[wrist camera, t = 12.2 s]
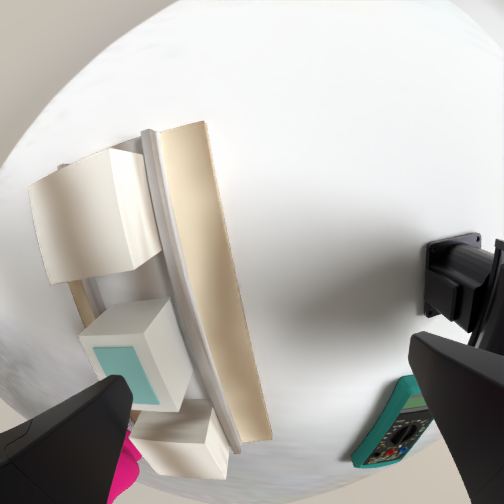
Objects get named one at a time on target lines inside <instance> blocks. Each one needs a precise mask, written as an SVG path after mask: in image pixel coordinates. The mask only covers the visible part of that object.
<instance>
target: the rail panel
mask: <svg viewBox="0 0 504 504" xmlns="http://www.w3.org/2000/svg"><path fill="white" fill-rule="evenodd" d="M28 190H29V197H30V203H31V209H32V215H33V220H34V225H35V230H36V235H37V239H38V244H39V248H40V252H41V255H42V259H43V263H44V266H45V270H46V273H47V276H48V280H49V283H50V285H51V284H57V283H63V282H68V283H69V286H70V289H71V292H72V295H73V298H74V301H75V303H76V306H77V309H78V311H79V314H80V317H81V319H82V322H83V324H84V327H85V329H86V328H87V327H88V326H89V325H90V324H91V323H92V322H93V321H94V320H96V319H97V318H98V317H99V316H100V315H101V314H102V313H103V312H104V311H106V310H107V309H108V308H109V307H110V306H111V305H112V304H118V303H127V302H135V301H144V300H152V299H160V298H167V297H171V299H172V302H173V305H174V309H175V312H176V315H177V318H178V321H179V324H180V328H181V331H182V334H183V337H184V340H185V342H186V345H187V348H188V351H189V354H190V357H191V360H192V362H193V365H194V369H193V372H192V375H191V378H190V381H189V384H188V387H187V389H186V392H185V395H184V398H183V401H182V404H181V407H180V410H179V412H159V411H142V410H131V413H130V416H131V417H132V419H133V420H134V422H135V425H134V427H133V429H132V431H131V433H130V435H129V437H128V438H129V439H130V440H131V442H132V443H133V444H134V446H135V447H136V448H137V449H138V451H139V452H140V453H141V455H142V456H143V457H144V458H145V459H146V461H147V462H148V463H149V464H150V465H151V467H152V468H153V469H154V470H155V471H156V472H157V473H158V474H160V475H167V476H176V477H186V478H200V479H226V474H227V465H228V457H229V449H230V447H231V448H232V450H233V452H234V454H241V446H242V442H251V441H263V440H272V431H271V427H270V423H269V418H268V414H267V410H266V406H265V402H264V398H263V394H262V390H261V385H260V381H259V377H258V373H257V368H256V364H255V360H254V355H253V351H252V346H251V342H250V338H249V333H248V329H247V324H246V320H245V315H244V311H243V306H242V301H241V297H240V292H239V288H238V283H237V278H236V273H235V269H234V264H233V259H232V254H231V249H230V244H229V240H228V235H227V230H226V225H225V220H224V215H223V210H222V204H221V199H220V194H219V189H218V184H217V179H216V173H215V168H214V163H213V157H212V152H211V146H210V141H209V135H208V130H207V124H206V123H205V122H204V121H200V122H196V123H192V124H188V125H185V126H181V127H177V128H174V129H170V130H167V131H163V132H158V131H153V130H151V129H147V130H144V131H141V136H140V137H137V138H134V139H131V140H128V141H126V142H123V143H120V144H118V145H115V146H112V147H110V148H107V149H105V150H102V151H100V152H97V153H95V154H93V155H90V156H88V157H86V158H83V159H81V160H79V161H77V162H75V163H72V164H62V165H60V166H58V171H56V172H54V173H52V174H50V175H48V176H46V177H44V178H42V179H40V180H39V181H37V182H35V183H33V184H31V185H30V186H28Z"/></svg>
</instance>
